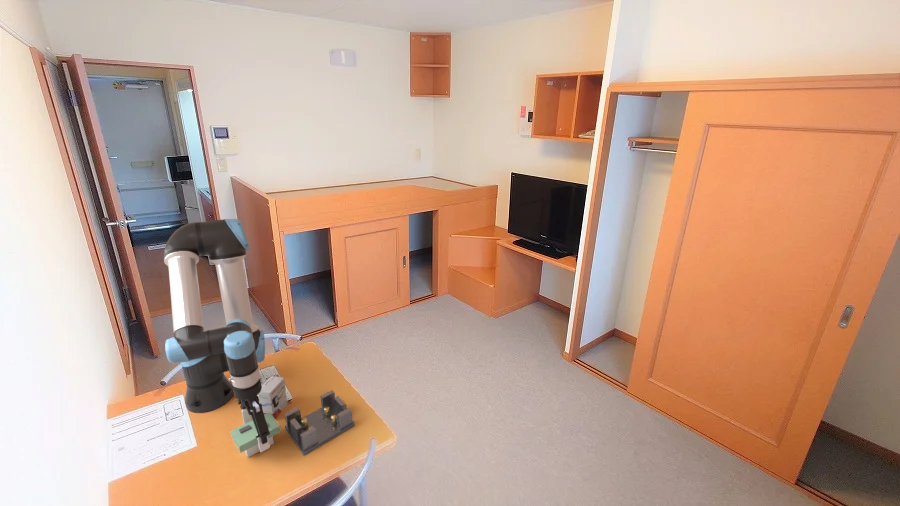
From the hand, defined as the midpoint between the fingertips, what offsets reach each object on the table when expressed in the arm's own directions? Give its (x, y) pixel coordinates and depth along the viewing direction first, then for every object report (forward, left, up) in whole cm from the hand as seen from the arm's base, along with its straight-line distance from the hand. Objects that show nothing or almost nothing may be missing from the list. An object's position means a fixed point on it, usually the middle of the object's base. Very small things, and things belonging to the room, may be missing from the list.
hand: (256, 436), depth 126 cm
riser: (0, 0, -4) cm, 4 cm away
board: (0, 0, +1) cm, 1 cm away
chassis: (+6, +18, -4) cm, 19 cm away
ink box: (-12, +10, -4) cm, 16 cm away
